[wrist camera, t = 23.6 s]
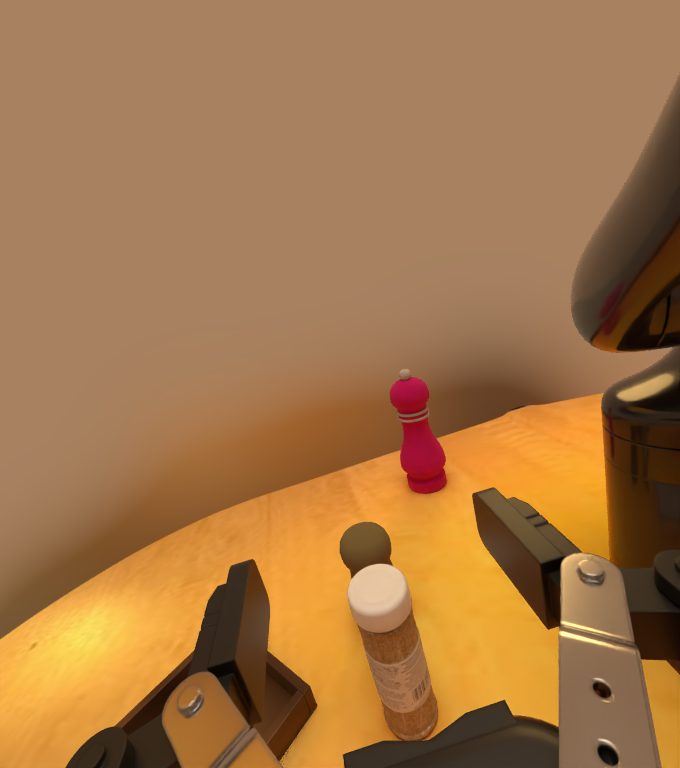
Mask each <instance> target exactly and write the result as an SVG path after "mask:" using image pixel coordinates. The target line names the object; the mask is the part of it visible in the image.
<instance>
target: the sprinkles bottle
mask: <svg viewBox="0 0 680 768" xmlns="http://www.w3.org/2000/svg"><path fill="white" fill-rule="evenodd" d="M347 596H348V601H349V605H350V609H351V612H352V615H353V618H354V620H355V621H356V623H357V625H358V626H359V629H360V633H361V636H362V639H363V645H364V648H365V652H366V655H367V658H368V661H369V665H370V668H371V671H372V675H373V678H374V681H375V684H376V687H377V690H378V693H379V696H380V698H381V701H382V704H383V707H384V714H385V718H386V721H387V724H388V726H389V727H390V729H391V730H392V731H393V732H394V733H395V734H396V735H397V736H398V737H400V738H401V739H404V740H406V741H416V740H420V739H422V738H424V737H426V736H427V735H428V734H429V733H430V732H431V731H432V729H433V727H434V725H435V723H436V720H437V715H438V709H437V701H436V698H435V695H434V693H433V691H432V687H431V680H430V675H429V671H428V667H427V663H426V659H425V655H424V651H423V647H422V643H421V639H420V635H419V631H418V628H417V626H416V623H415V620H414V616H413V612H412V600H411V595H410V591H409V587H408V584H407V581H406V578H405V576H404V575H403V573H402V572H401V571H400V570H398V569H397V568H395V567H394V566H391V565H388V564H374V565H370V566H368V567H365V568H363V569H362V570H360V571H359V572H358V573H357V574H356V575H355V576H354V577H353V578H352V580H351V582H350V584H349V587H348V592H347Z"/></svg>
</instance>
